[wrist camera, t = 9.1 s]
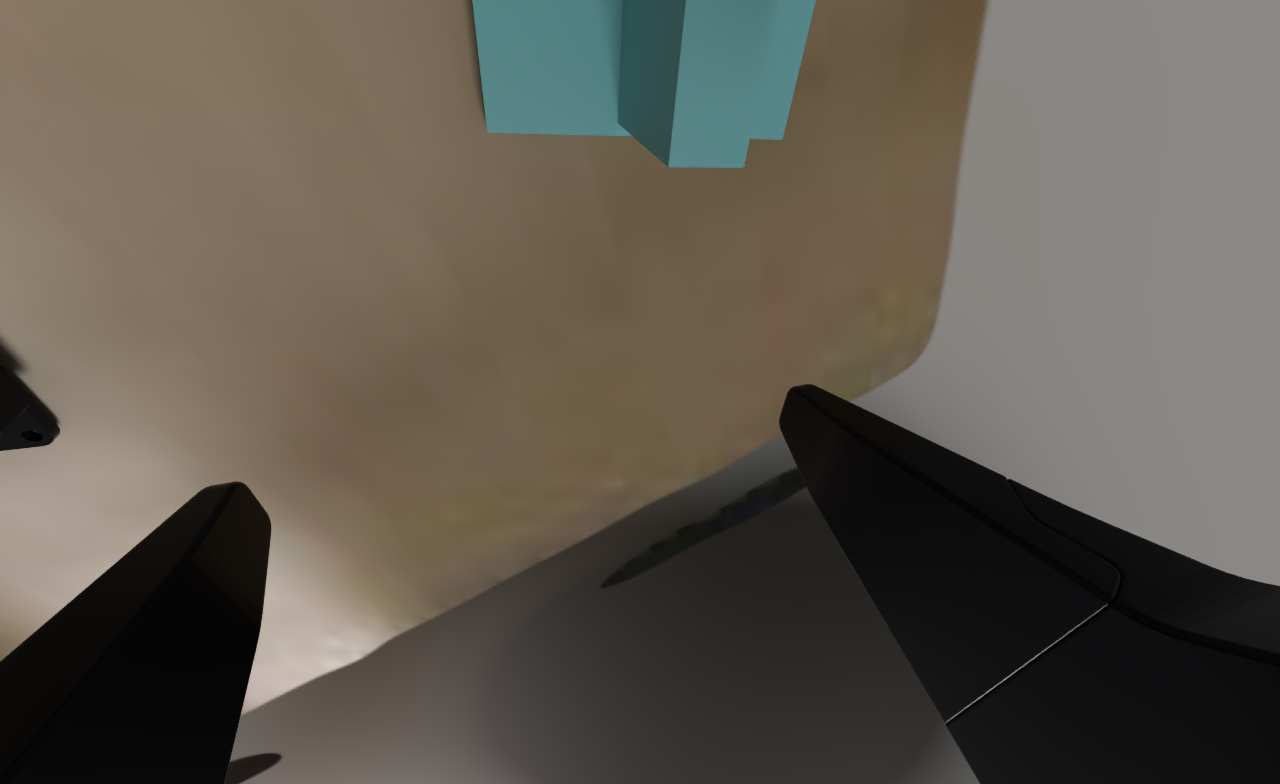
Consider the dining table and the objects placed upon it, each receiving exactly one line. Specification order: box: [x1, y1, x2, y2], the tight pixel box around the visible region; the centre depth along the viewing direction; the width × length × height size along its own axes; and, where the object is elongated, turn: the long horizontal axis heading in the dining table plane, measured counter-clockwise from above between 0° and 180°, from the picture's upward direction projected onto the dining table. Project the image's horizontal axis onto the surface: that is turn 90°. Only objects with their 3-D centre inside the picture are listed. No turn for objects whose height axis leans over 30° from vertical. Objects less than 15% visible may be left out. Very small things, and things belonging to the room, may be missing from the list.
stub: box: [472, 0, 816, 168], centre depth 12 cm, size 10×7×6 cm
